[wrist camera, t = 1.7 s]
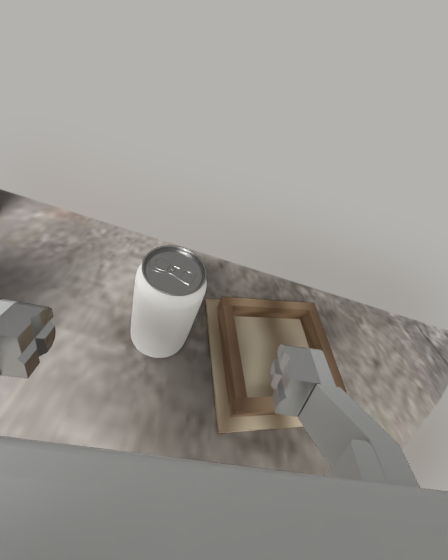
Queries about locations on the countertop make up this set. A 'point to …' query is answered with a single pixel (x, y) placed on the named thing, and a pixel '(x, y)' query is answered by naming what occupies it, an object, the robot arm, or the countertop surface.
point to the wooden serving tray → (257, 357)
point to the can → (166, 300)
